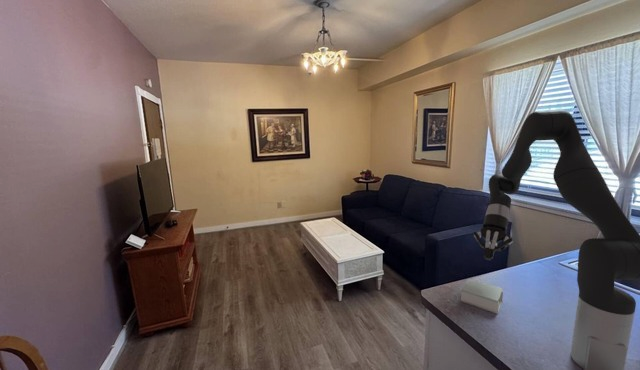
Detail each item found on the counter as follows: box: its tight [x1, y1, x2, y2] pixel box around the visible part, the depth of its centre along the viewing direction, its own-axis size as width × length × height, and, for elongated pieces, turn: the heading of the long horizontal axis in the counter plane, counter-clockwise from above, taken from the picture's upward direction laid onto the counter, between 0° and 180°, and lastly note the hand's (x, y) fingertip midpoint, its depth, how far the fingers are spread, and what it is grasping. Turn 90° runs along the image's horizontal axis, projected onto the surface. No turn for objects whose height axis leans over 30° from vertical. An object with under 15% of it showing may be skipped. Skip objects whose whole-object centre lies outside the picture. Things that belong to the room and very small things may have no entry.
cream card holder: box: [460, 290, 504, 315], centre depth 92 cm, size 11×9×4 cm
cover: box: [461, 278, 504, 303], centre depth 92 cm, size 11×9×1 cm
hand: (487, 259), depth 95 cm, fingers closed
